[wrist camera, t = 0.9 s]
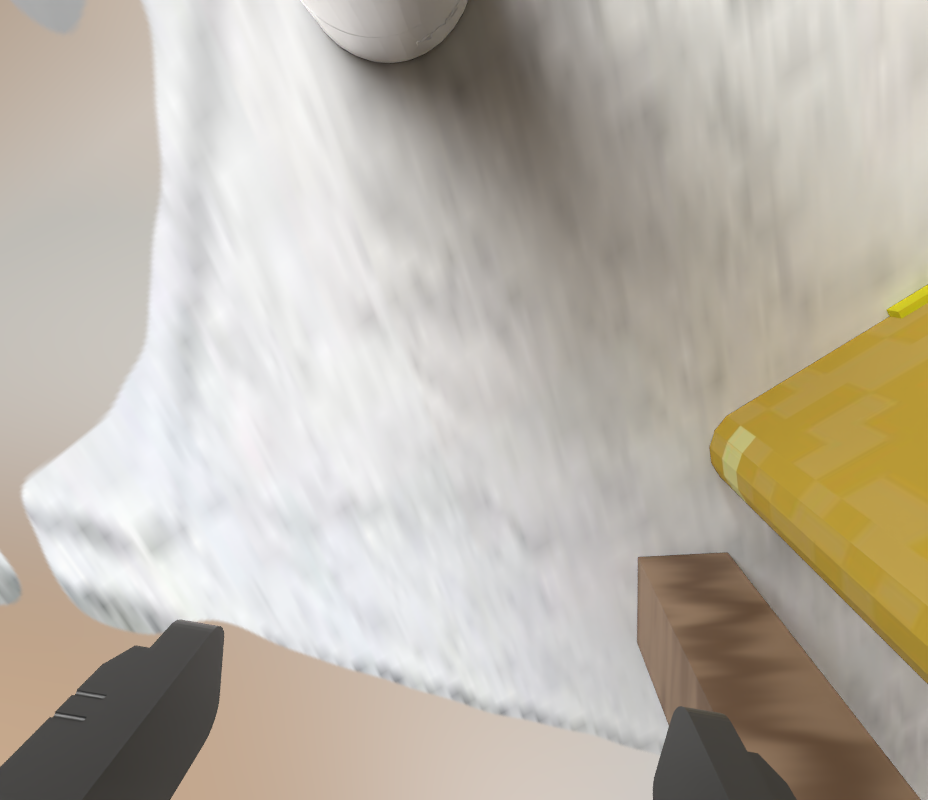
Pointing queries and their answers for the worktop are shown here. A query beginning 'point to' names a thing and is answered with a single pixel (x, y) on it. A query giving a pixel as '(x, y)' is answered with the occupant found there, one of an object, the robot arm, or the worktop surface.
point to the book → (849, 472)
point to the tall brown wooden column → (754, 678)
